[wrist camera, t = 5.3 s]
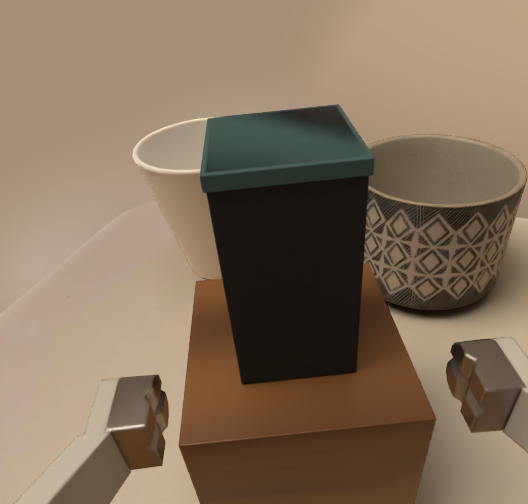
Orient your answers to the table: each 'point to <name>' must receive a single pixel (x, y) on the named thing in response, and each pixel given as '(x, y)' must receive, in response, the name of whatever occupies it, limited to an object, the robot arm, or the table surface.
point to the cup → (181, 189)
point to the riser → (303, 418)
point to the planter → (439, 218)
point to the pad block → (289, 237)
